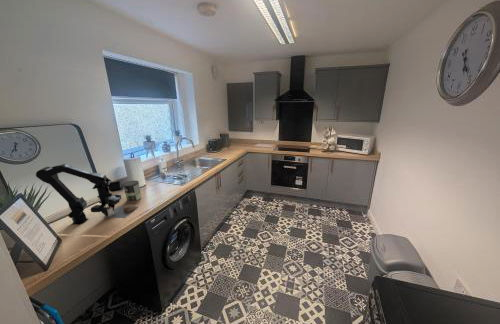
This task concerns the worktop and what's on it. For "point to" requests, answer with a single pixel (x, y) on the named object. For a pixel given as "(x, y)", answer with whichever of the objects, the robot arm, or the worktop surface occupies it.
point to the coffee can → (132, 191)
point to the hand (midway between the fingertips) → (110, 214)
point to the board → (120, 213)
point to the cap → (110, 211)
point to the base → (129, 208)
